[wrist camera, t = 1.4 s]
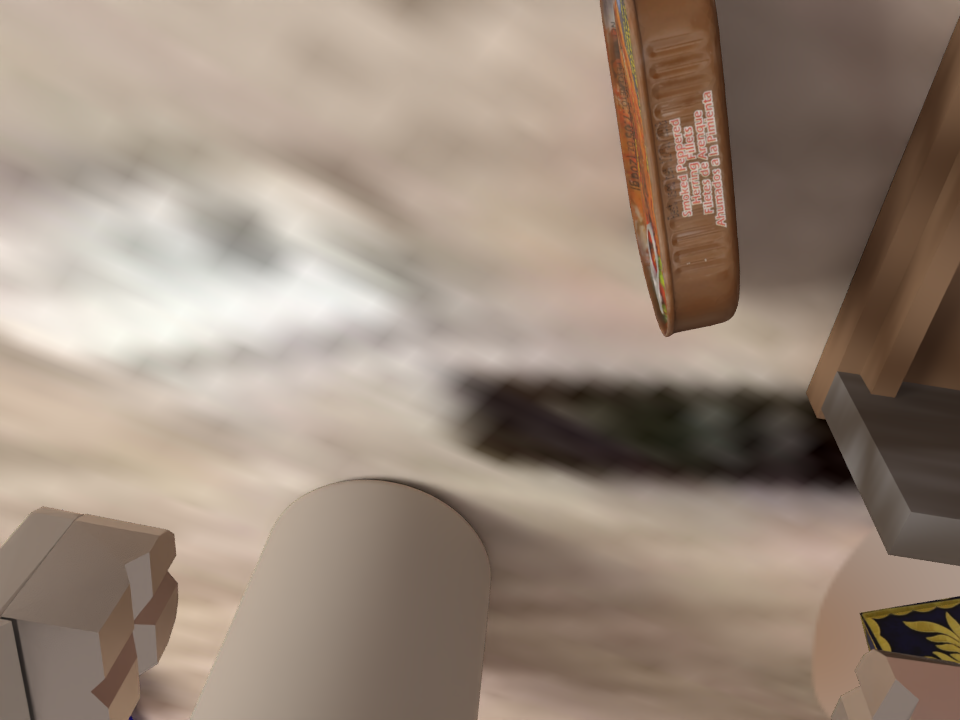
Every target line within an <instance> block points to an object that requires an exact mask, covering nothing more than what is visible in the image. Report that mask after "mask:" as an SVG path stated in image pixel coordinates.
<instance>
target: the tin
mask: <svg viewBox="0 0 960 720" xmlns="http://www.w3.org/2000/svg"><path fill="white" fill-rule="evenodd" d="M600 7H601V14H602V22H603V28H604V36H605V42H606V49H607V55H608V62H609V68H610V75H611V82H612V88H613V95H614V102H615V108H616V114H617V122H618V128H619V135H620V142H621V148H622V155H623V162H624V169H625V175H626V181H627V188H628V195H629V201H630V207H631V212H632V217H633V222H634V228H635V234H636V239H637V244H638V249H639V254H640V258H641V263H642V266H643V271H644V275H645V279H646V282H647V287H648V291H649V294H650V298H651V301H652V304H653V308H654V312H655V316H656V319H657V321H658V324H659V327H660V329H661V331H662V333H663V335H664V336H665V337H669V336H671V335H672V334H674V333H677V332H681V331H686V330H691V329H696V328H701V327H706V326H711V325H715V324H719V323H722V322H725V321H728V320H729V319H731V318H732V316H733V315H734V313H735V311H736V309H737V306H738V300H739V289H740V266H739V249H738V238H737V223H736V210H735V197H734V185H733V172H732V161H731V150H730V140H729V127H728V116H727V107H726V98H725V84H724V76H723V65H722V56H721V46H720V35H719V27H718V19H717V12H716V5H715V0H600Z"/></svg>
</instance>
